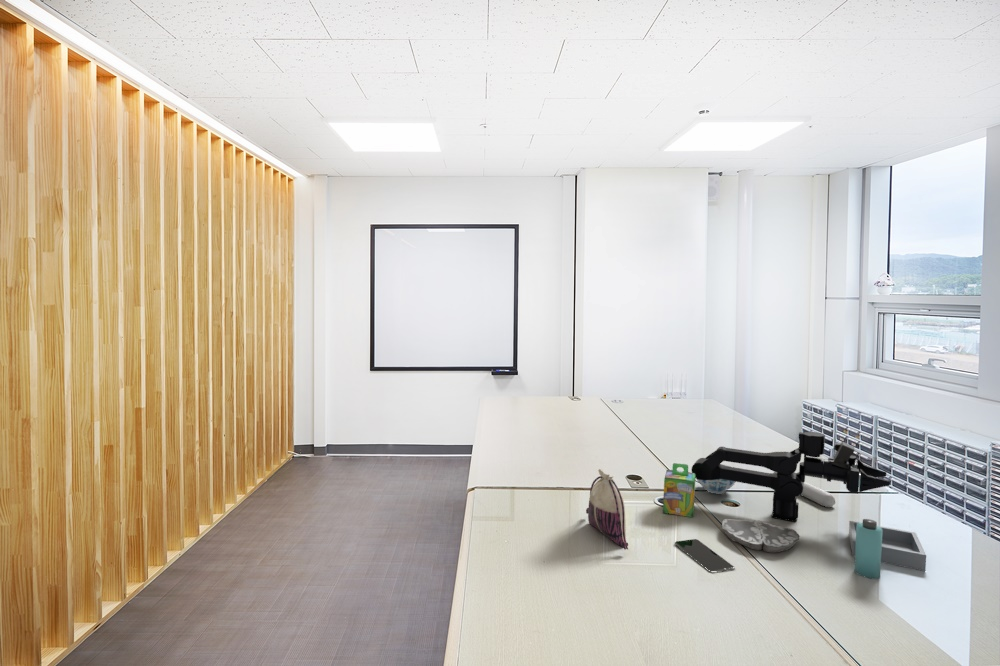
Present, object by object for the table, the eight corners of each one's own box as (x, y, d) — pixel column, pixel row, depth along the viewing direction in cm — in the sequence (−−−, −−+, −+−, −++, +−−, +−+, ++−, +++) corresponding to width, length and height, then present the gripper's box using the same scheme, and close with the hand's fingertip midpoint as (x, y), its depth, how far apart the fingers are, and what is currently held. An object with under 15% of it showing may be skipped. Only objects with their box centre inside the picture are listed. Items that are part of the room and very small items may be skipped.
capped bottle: (855, 574, 128) (857, 522, 127) (853, 565, 132) (856, 515, 131) (881, 580, 125) (884, 527, 124) (879, 571, 130) (881, 519, 129)
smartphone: (711, 571, 128) (673, 541, 144) (710, 575, 128) (673, 545, 144) (736, 567, 130) (697, 538, 145) (736, 572, 130) (696, 542, 145)
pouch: (571, 519, 159) (572, 458, 158) (594, 516, 162) (596, 455, 161) (619, 557, 136) (621, 485, 135) (645, 551, 139) (647, 481, 138)
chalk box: (662, 513, 164) (663, 467, 164) (665, 503, 173) (666, 459, 172) (694, 518, 161) (695, 470, 160) (694, 507, 169) (696, 462, 169)
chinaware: (698, 480, 195) (699, 460, 195) (742, 489, 187) (743, 467, 186) (686, 492, 183) (687, 470, 183) (732, 502, 174) (733, 479, 174)
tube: (841, 496, 170) (786, 471, 194) (827, 492, 169) (774, 467, 193) (835, 512, 170) (781, 485, 194) (822, 508, 169) (769, 481, 193)
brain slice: (723, 550, 141) (723, 539, 141) (720, 525, 157) (720, 515, 156) (806, 563, 134) (807, 551, 134) (794, 535, 150) (794, 525, 150)
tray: (852, 555, 137) (853, 540, 137) (848, 534, 150) (849, 520, 150) (925, 571, 130) (926, 555, 130) (914, 546, 143) (915, 532, 142)
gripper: (825, 449, 148) (893, 459, 140) (824, 435, 164) (886, 443, 156) (822, 488, 149) (891, 499, 141) (822, 470, 165) (884, 480, 157)
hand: (888, 478), depth 148 cm, fingers open, 9 cm apart
